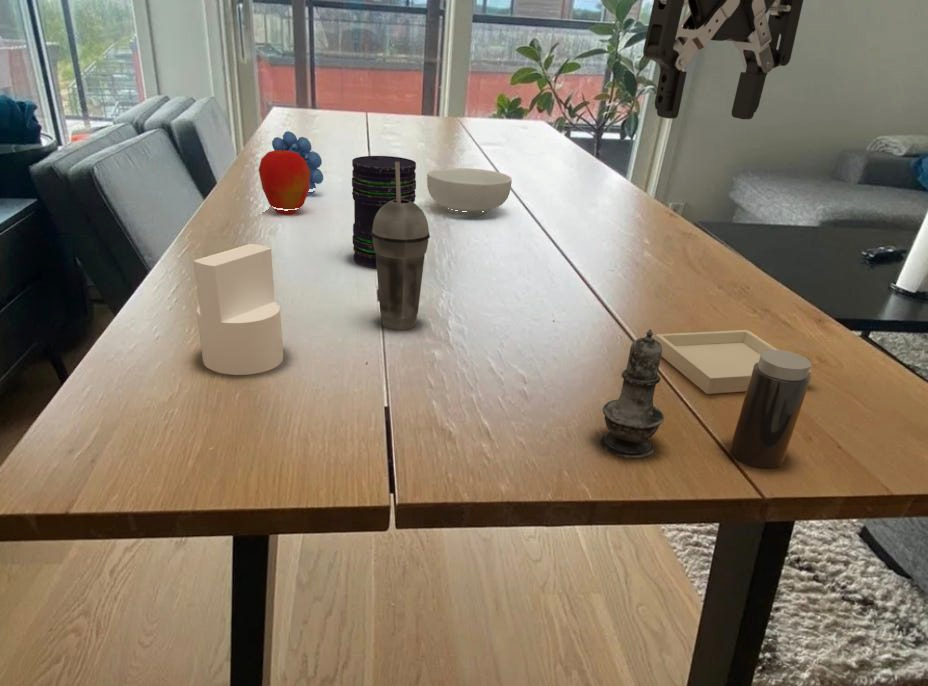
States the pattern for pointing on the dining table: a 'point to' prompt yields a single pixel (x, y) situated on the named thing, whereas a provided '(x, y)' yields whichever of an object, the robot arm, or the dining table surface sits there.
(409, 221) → the beverage cup
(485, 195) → the cereal bowl
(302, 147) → the grapes
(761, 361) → the black pepper shaker
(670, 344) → the ivory tray
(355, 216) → the storage jar
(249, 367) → the cylinder with rectangular tab
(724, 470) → the dining table surface
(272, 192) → the apple
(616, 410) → the salt shaker
